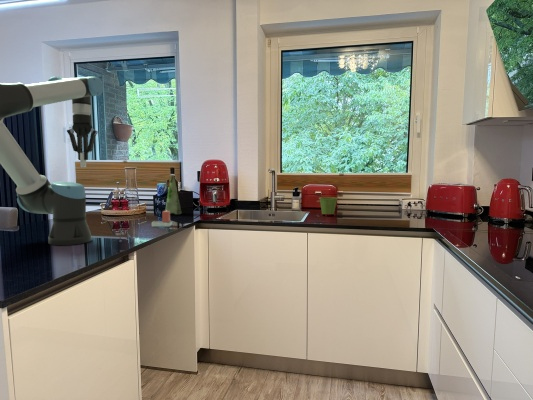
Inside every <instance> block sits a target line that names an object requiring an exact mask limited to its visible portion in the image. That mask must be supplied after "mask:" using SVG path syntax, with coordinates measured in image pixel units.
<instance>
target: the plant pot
mask: <svg viewBox="0 0 533 400" xmlns="http://www.w3.org/2000/svg"><path fill="white" fill-rule="evenodd" d="M318 199H319V203H320V208H321V215H322V214H334V215H335V211H336V206H337V201H338V199H339V198H338V197H334V196H333V197H332V196H321V197H318Z"/></svg>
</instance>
